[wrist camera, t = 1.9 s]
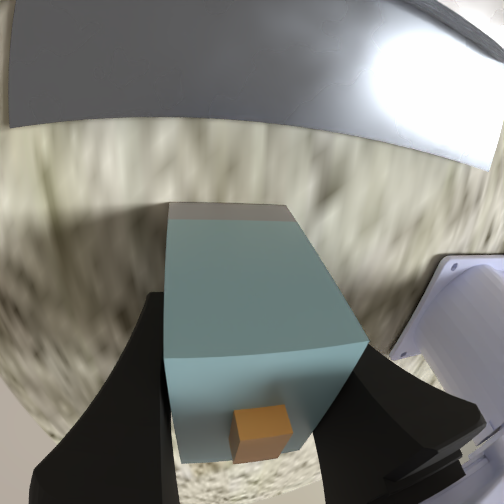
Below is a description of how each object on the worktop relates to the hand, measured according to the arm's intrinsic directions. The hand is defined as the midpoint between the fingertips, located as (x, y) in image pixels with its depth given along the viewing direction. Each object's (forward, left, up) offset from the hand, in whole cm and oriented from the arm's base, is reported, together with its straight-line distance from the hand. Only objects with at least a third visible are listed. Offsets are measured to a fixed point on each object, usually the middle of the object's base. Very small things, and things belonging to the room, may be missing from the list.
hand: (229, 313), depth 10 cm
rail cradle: (-2, -12, -2) cm, 12 cm away
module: (0, 0, -2) cm, 2 cm away
